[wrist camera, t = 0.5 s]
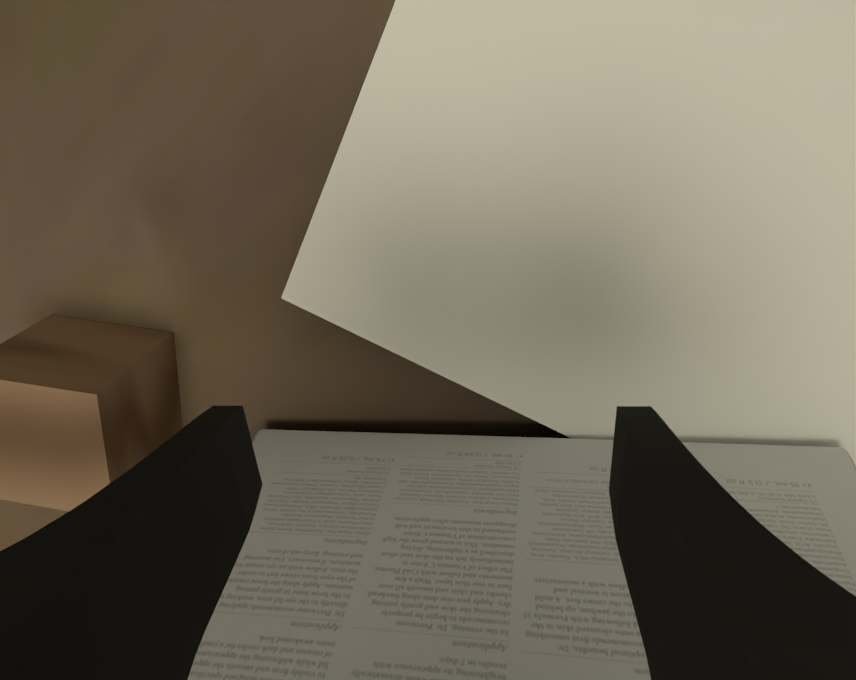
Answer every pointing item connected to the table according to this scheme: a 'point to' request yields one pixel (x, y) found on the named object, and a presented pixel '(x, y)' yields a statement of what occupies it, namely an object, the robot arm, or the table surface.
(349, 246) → the white tray
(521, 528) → the grey printed book
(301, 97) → the table surface
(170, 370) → the walnut block
